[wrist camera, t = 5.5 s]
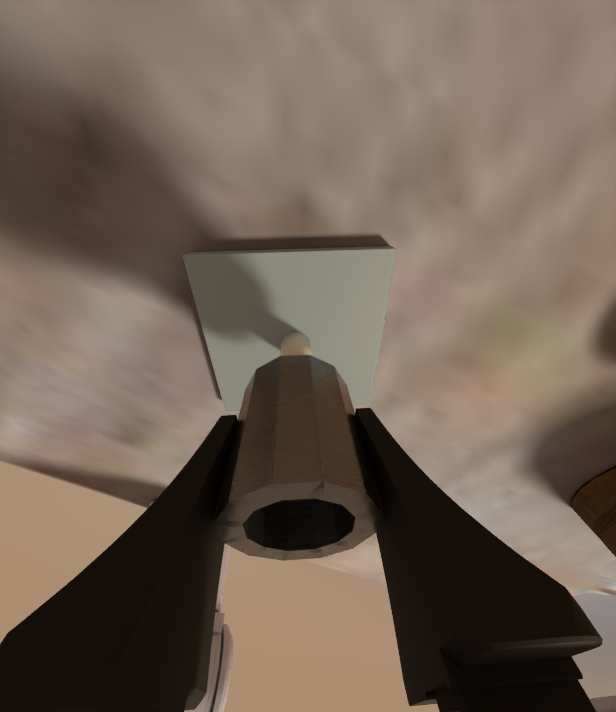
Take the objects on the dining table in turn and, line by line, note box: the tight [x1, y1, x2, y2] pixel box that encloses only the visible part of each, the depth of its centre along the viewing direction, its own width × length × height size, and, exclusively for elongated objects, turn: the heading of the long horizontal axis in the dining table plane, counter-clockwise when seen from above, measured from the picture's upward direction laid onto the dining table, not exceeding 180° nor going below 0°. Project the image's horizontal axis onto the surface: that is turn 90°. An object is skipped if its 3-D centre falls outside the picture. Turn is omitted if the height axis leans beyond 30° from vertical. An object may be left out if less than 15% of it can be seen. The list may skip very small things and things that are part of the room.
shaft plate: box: [182, 246, 396, 412], centre depth 16 cm, size 12×12×4 cm
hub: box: [213, 355, 383, 560], centre depth 10 cm, size 5×5×6 cm
